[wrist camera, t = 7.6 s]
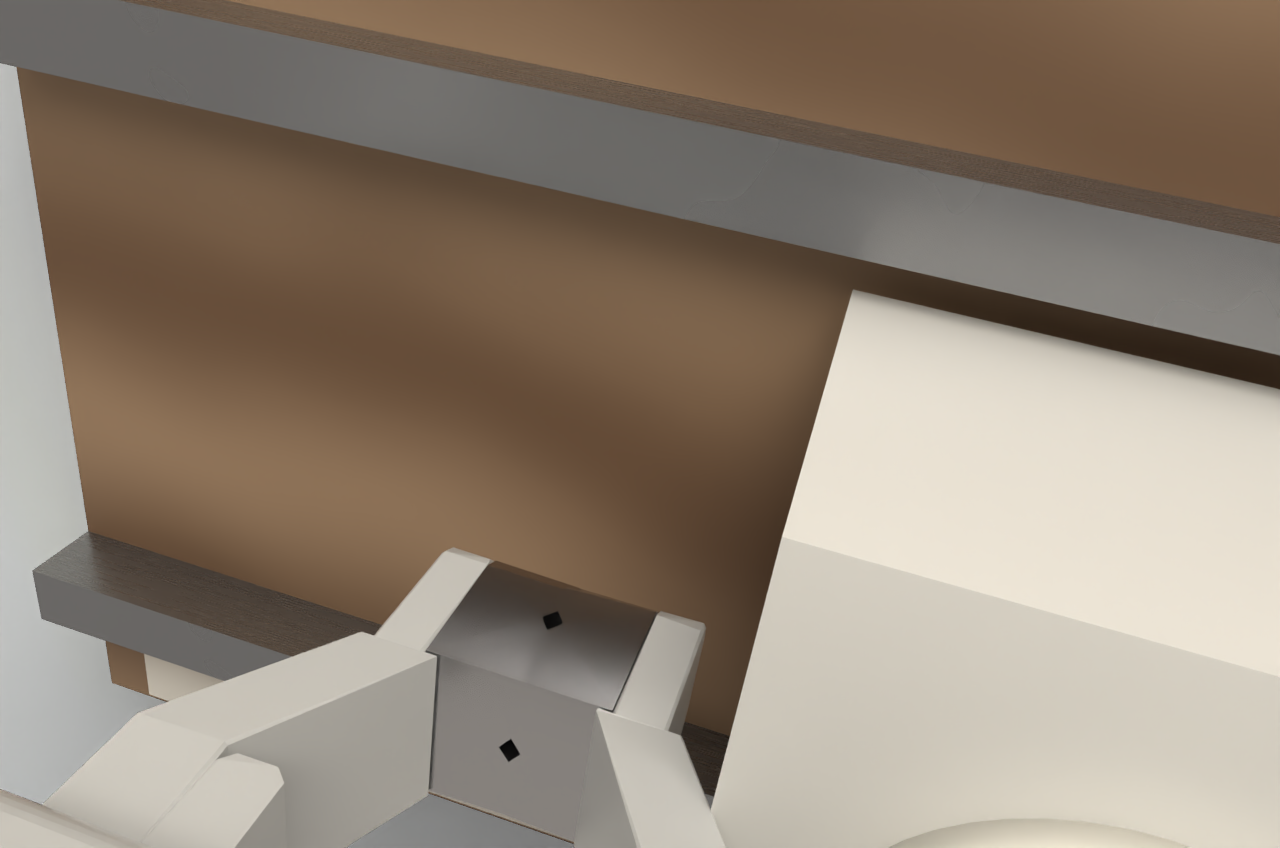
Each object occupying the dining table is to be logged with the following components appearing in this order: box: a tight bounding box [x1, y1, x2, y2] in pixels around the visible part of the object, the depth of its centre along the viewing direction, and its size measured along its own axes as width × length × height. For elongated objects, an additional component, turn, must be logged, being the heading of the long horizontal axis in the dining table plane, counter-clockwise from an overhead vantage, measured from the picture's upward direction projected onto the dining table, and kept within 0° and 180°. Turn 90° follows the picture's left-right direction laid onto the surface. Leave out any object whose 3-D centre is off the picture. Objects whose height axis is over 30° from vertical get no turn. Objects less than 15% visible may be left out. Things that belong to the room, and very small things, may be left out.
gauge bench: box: [17, 0, 1280, 844], centre depth 13 cm, size 15×26×2 cm, turn 81°
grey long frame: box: [0, 0, 1280, 809], centre depth 10 cm, size 10×26×7 cm, turn 81°
